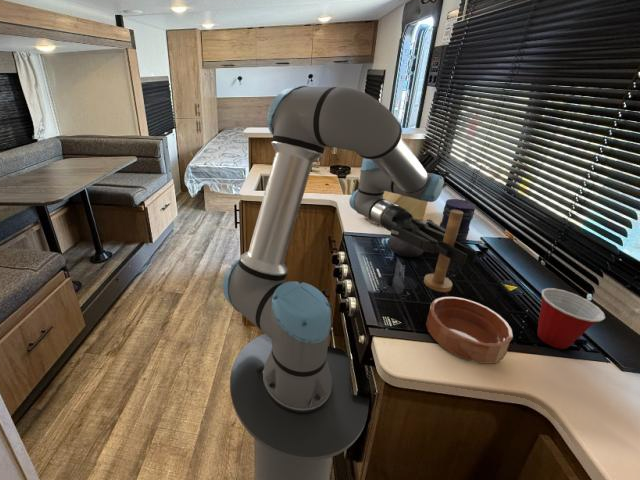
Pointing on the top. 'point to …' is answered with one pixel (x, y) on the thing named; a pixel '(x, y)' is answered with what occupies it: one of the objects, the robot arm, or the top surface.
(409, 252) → the teapot
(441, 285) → the wooden pestle
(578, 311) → the plastic cup
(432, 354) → the top surface
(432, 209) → the top surface
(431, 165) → the knife block
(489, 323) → the bowl
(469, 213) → the storage jar
